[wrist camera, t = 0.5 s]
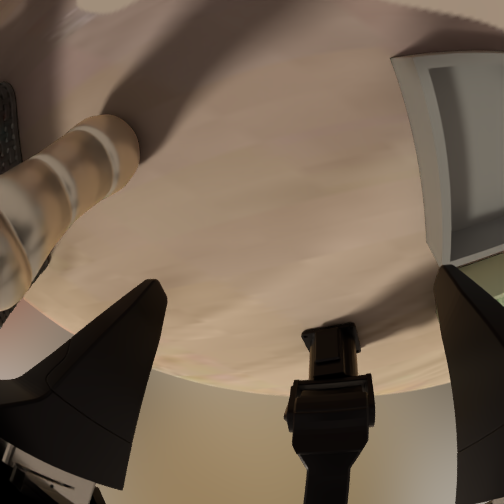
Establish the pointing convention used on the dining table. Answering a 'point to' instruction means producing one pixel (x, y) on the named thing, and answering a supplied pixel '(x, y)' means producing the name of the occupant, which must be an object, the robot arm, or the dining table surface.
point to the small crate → (488, 276)
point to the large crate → (458, 148)
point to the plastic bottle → (58, 195)
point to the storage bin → (10, 153)
